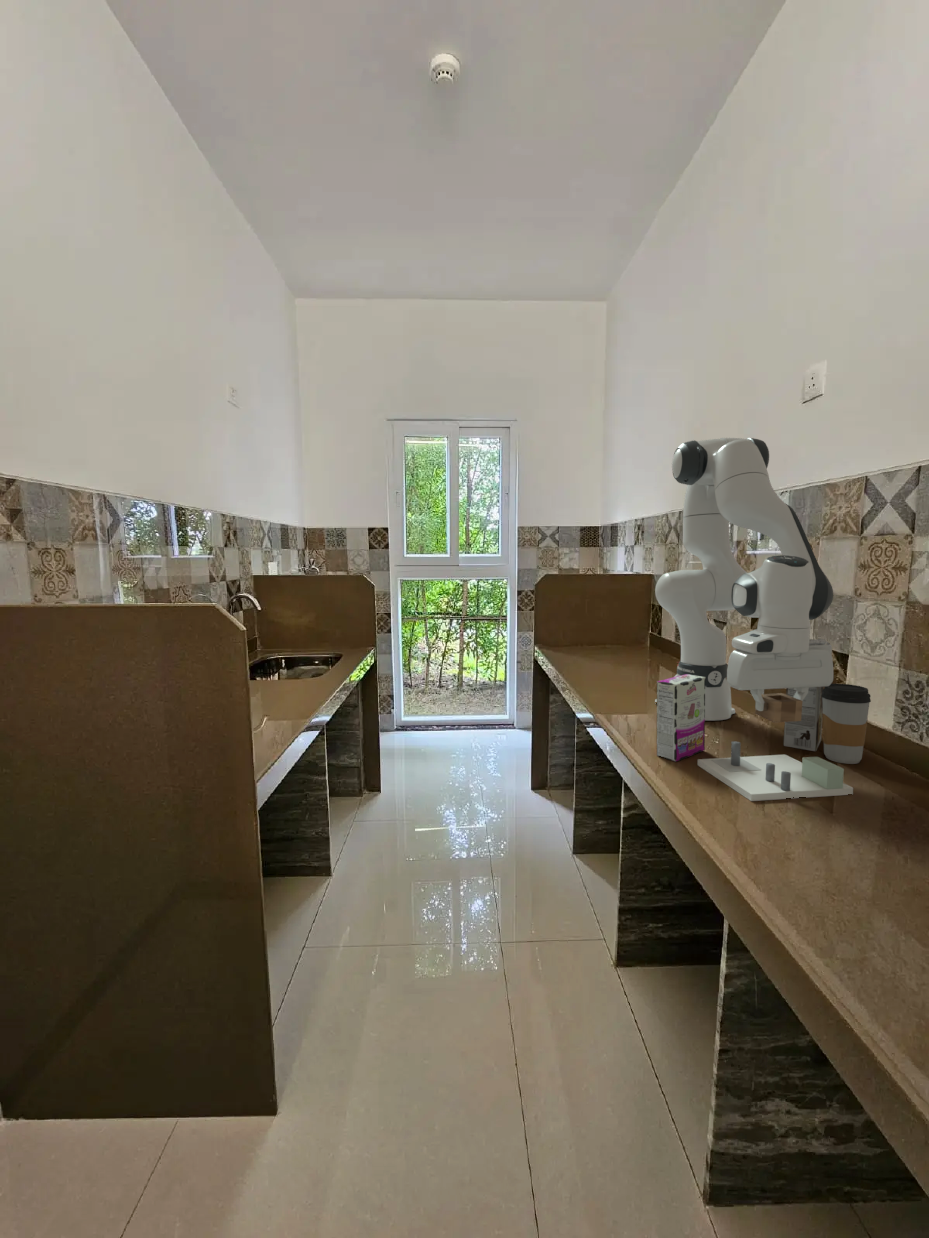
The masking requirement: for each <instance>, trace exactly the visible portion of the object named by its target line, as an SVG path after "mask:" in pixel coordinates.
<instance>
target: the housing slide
mask: <svg viewBox="0 0 929 1238" xmlns="http://www.w3.org/2000/svg"><path fill="white" fill-rule="evenodd" d="M801 761H802V776H803V777H804V778H806V779H808V780H810V781H812V782H814V783H816V784H818V785H820V786H822V787H824V788H826V789H838V788H843V783H844V773H845V768H843V767H842V766H839V765H838V764H837V765H836V764H834V763H833V762H831V761H828V760H825V759H823V758H821V757H819V756H808V757H802V760H801Z"/></svg>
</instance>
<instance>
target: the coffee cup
mask: <svg viewBox="0 0 929 1238" xmlns="http://www.w3.org/2000/svg"><path fill="white" fill-rule="evenodd" d="M821 697H822V702H823V711H822V741H823V754H824V755H825V758H826V759H828V760H830V761H833V762H835V763H840V764H848V765H849V764H850V765H854V764H857V765H858V764H859V763H860V762H861V760H862V758H863V753H864V752H863V751H864V747H865V742H866V733H867V728H868V717H869V716H868V715H869V708H870V703H871V701H872V700H871V693H869V688H867V687H864V686H862V685H861V686H860V685H854V684H846V683H831V684H830V686H825V687H823V690H822V695H821Z"/></svg>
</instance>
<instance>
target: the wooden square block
mask: <svg viewBox="0 0 929 1238" xmlns="http://www.w3.org/2000/svg"><path fill="white" fill-rule="evenodd" d="M761 696H762V698H763V700H764V701H765V702H768V710H767V711H758V710H756V709H755V710H754V711H755V713H754V714H755V715H757V716H759V717H762V718H764V719H765V720H768V721H770V722H772V723H785V722H792V721H801V715H802V701H801V700H799V699H796V698H794V697H791V696H788V695H786V693H784V692H783V693H782V692H780V693H779V692H778V693H764V694H763V695H762V694H761Z"/></svg>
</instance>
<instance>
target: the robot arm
mask: <svg viewBox="0 0 929 1238" xmlns="http://www.w3.org/2000/svg"><path fill="white" fill-rule="evenodd" d="M769 462H770V451H769V447H768V446H767V444H766V442H765V441H763V440H761V439H758V438H754V437H753V438H752V437H747V438H741V437H720V438H712V439H711V438H710V439H703V440H702V439H701V440H694V439H693V440H689V441H685V442H683V443H681V444H679V446H678V447H676V449H675V451H674V454H673V456H672V460H671V471H672V475H673V477H674V479H675V481H676V482H677V483H679V484H682V485H686V489H685V493H684V494H685V495H684V498H683V499H684V501H683V508H682V509H683V510H682V513H683V514H682V545H683V548H684V549H685V551H687V552H688V553H690V554H691V555H693V556H694V557H696V558H698V559H699V561H700V563H701V565H702V569H679V570H675V571H670V572H666V573H663V574H662V575H661V576H660V577H659V578H658V579H657V581H656V584H655V589H654V591H655V592H654V595H655V599H656V601H657V603H658V604H659V605H660V606H661V608H663V609H664V610H665V611H666V612H668V613H669V615H671V618H673V620H674V621H675V622H676V625H677V628H678V631H679V637H680V661H676V663H678V664H676V666H677V667H676V674H675V675H674V676H673V677H677V676H681V675H685V674H690V675H696V676H702V677H705V721H723V720H728V719H730V718H731V717H732V715H733V714H736V709H735V708H734V707H732V691H731V688H733V689H735V690H738V691H750V694H751V696H752V698H753V699H754V701H755V703H754V704H755V710H758V711H767V710H768V702H765V701H764V700H763V698H762V696H761V694H762V695H763V694H765V690H775V689H777V690H778V689H779V690H780V689H786V688H794V690H796V693H795V695H794V696H793V697H794V698H796V699H799V700H801V701H803V699H804V698H805V697H806V695H807V694H808V689H809V687H823V688H824V687H825V686H830V684H833V681H834V661H833V656H832V654H833V646H832V644H831V643H830V642H829V641H827V640H826V639H824V638H818V639H814V638H812V639H811V626H812V625H811V621H812V620H815V619H817V618H819V617H821V616H822V615H823V614H824V613H825V612H826V611H827V610H828V609H829V608H830V607H831V605H832V603H833V600H834V589H833V586H832V584H831V582H830V580H829V578H828V577H827V575H826V574H825V572H824V571H823V569H822V568H821V566H820V565H819V562H818V560H817V558H816V556H815V553H814V552H813V549H812V546H811V544H810V541H809V539H808V537H807V535H806V533H805V530H804V528H803V526H802V524H801V521H800V519H799V517H798V515H797V512H795V510H794V509H793V508H792V506H791V505H789V504H787V503H786V502H784V501H783V499H781V498H780V496H779V495H778V494H777V493H776V491H775V490H774V488H773V486H772V484H771V481H770V476H769V472H768V466H769ZM730 524H732V525H734V526H736V527H739V528H743V529H747V530H750V531H754V532H757V533H760V534H761V535H764V536H766V537H768V538H770V539H771V540H772V541H774V542H775V543H776V545H777V546H778V548H779V550H780V553H781V555H773V556H769V557H767V558H764V560H763V563H762V565H761V566H760V567H758V568H756V569H753V570H752V571H750V572H748V571H746V570H745V569H744V568H743V567H742V566H741V565H740V564H739V563H738V561H737V559H736V557H735V556H734V554H733V550H732V548H731V543H730V542H731V541H730ZM733 610H735V611H736V612H738V614H739V615H740V616H743V617H747V618H755V619H756V618H758V622H757V627H756V629H752V630H751V631H749V632H745V633H742V634H740V635H737V636H734V637H732V639H731V647H732V648H734V650H732V652H730V654H729V658H728V662H727V660H726V659H727V636H726V634H725V632H724V631H723V629H721V628H720V627H718V626H716V625H714V624H712V623H711V622H710V621H709V619H708V616H707V612H710V611H711V612H714V611H715V612H717V611H719V612H720V611H733ZM655 702H657V698H655V699H654V703H655Z"/></svg>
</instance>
